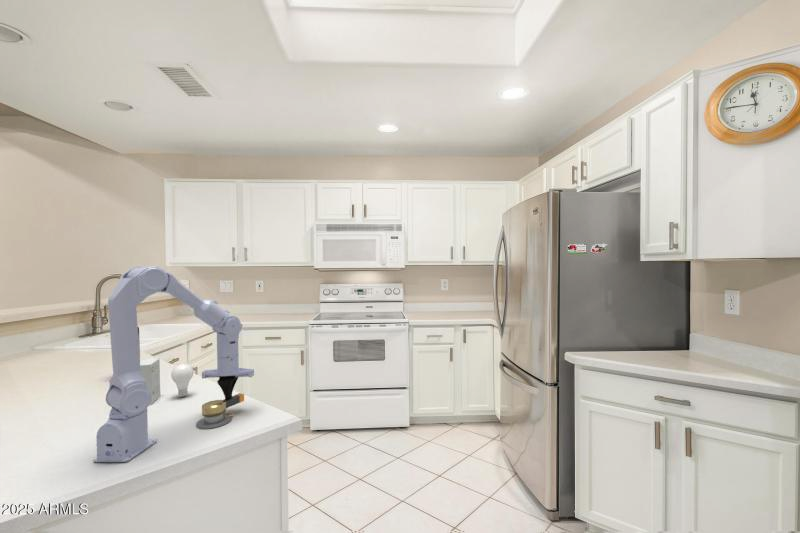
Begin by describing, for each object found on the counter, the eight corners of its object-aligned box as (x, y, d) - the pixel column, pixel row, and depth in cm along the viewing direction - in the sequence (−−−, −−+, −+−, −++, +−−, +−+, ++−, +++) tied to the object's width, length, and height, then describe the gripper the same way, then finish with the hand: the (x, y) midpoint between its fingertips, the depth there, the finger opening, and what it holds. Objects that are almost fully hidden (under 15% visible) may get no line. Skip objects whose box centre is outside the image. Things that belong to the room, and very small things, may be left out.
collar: (211, 418, 94) (210, 409, 94) (197, 414, 97) (197, 406, 97) (248, 402, 105) (248, 394, 105) (235, 399, 107) (235, 391, 107)
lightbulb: (183, 400, 114) (182, 367, 114) (167, 399, 115) (166, 366, 115) (198, 393, 120) (197, 361, 120) (182, 392, 121) (182, 361, 121)
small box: (139, 398, 117) (138, 359, 117) (161, 396, 119) (160, 357, 119) (128, 407, 109) (127, 366, 109) (151, 404, 111) (150, 364, 111)
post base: (221, 429, 93) (221, 420, 93) (188, 429, 94) (188, 420, 94) (238, 414, 102) (238, 406, 102) (208, 414, 103) (208, 406, 103)
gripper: (257, 351, 108) (258, 395, 108) (210, 352, 108) (210, 396, 108) (248, 357, 101) (249, 404, 101) (197, 359, 101) (198, 406, 101)
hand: (228, 401), depth 104 cm, fingers closed, pressing on collar
